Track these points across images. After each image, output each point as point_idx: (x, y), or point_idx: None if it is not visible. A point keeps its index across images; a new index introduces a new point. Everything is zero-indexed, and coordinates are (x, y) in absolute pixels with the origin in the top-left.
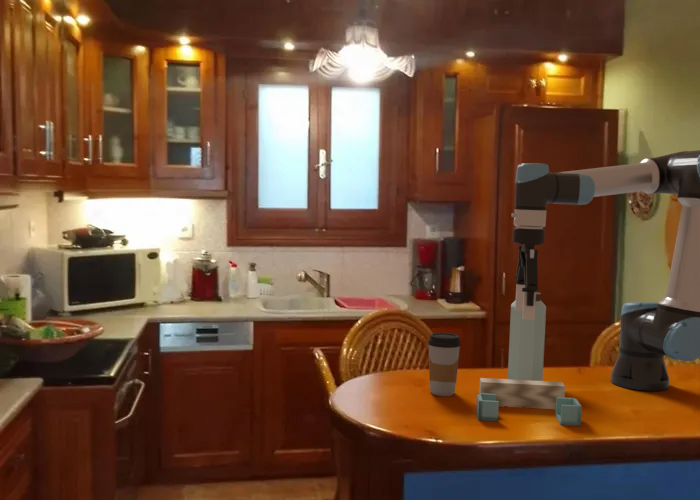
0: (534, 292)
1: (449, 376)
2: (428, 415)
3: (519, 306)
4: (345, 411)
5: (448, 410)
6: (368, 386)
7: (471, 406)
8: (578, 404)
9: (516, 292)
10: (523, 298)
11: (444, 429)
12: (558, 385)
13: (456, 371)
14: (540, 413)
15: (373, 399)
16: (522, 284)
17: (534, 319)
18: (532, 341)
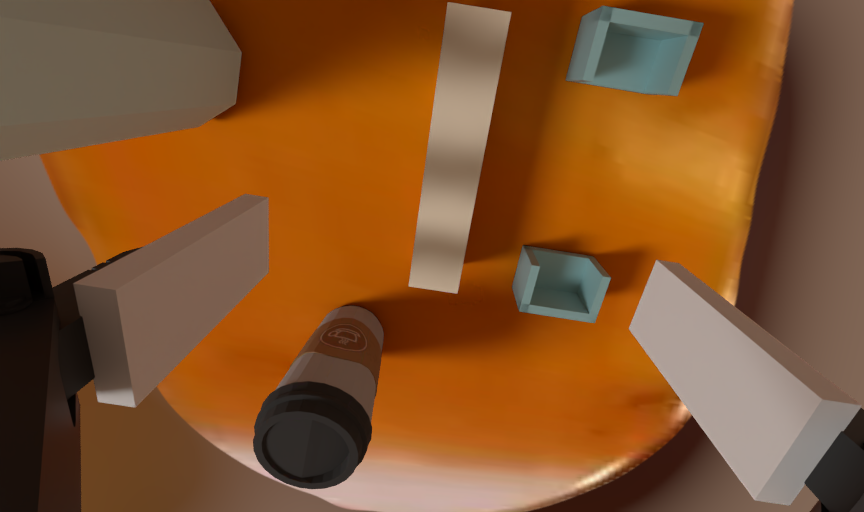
0: (850, 419)
1: (378, 354)
2: (534, 387)
3: (254, 258)
4: (501, 507)
5: (499, 343)
6: None
7: (468, 288)
8: (679, 27)
9: (192, 348)
10: (708, 436)
11: (631, 374)
12: (499, 38)
13: (357, 340)
14: (535, 120)
15: (420, 462)
16: (84, 341)
17: (679, 265)
18: (137, 46)
